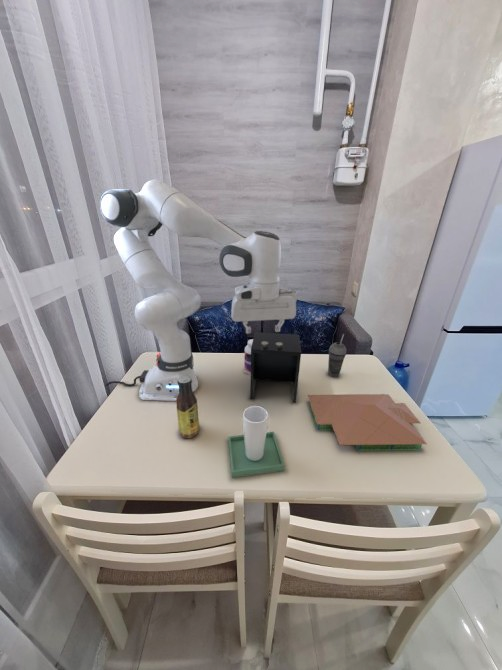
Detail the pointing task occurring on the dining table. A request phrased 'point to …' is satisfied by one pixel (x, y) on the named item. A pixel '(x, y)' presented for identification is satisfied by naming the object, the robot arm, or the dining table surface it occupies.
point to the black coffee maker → (275, 359)
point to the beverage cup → (336, 358)
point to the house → (367, 420)
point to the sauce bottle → (187, 408)
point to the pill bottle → (248, 357)
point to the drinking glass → (255, 431)
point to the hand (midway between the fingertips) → (262, 332)
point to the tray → (248, 467)
